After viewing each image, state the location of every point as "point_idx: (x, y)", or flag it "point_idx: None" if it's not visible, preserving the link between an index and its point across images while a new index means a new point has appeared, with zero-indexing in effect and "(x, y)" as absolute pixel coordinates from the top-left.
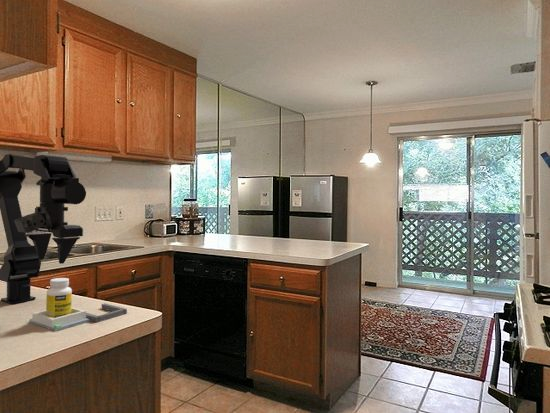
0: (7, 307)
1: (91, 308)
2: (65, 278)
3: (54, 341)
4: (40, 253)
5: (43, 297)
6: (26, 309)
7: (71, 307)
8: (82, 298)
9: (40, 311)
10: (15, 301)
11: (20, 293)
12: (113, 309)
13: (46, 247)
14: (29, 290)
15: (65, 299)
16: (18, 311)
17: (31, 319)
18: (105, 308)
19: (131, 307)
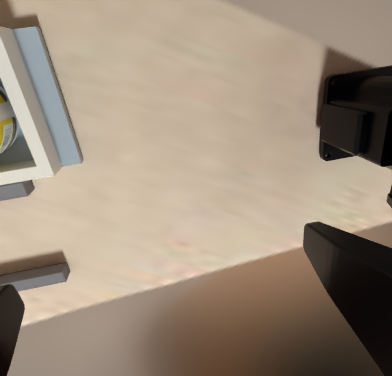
0: (303, 48)
1: (88, 242)
2: None
3: None
4: (340, 261)
5: (324, 184)
6: (225, 89)
7: (4, 178)
8: (221, 260)
9: (7, 64)
10: (331, 89)
11: (340, 108)
12: (2, 279)
13: (378, 356)
14: (339, 145)
15: None
16: (220, 57)
17: (33, 34)
18: (46, 268)
19: (25, 320)
